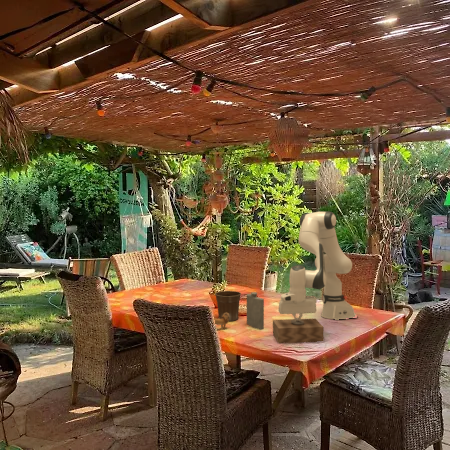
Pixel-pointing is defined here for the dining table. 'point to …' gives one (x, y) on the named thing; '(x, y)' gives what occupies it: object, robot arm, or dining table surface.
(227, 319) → the lion figurine
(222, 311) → the plant pot
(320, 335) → the block
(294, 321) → the knob
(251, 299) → the hip flask
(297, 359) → the dining table surface
